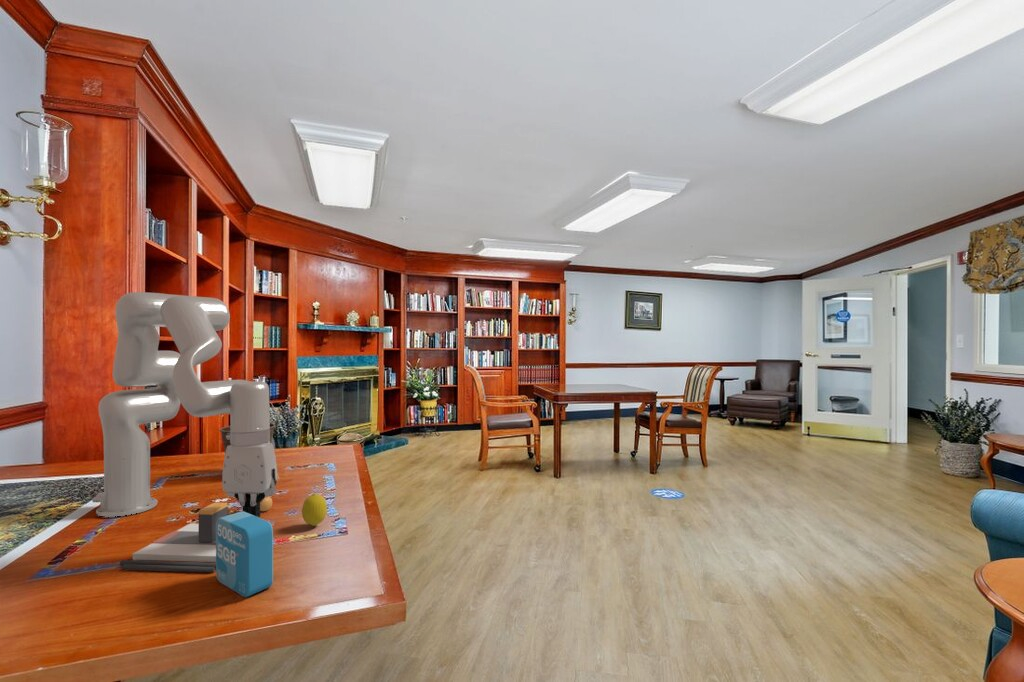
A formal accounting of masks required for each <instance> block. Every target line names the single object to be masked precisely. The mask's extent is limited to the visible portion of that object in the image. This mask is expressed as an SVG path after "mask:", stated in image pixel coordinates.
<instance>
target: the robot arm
mask: <svg viewBox="0 0 1024 682" xmlns="http://www.w3.org/2000/svg"><path fill="white" fill-rule="evenodd" d="M114 309H115V313H114V314H115V321H116V326H117V332H118V334H117V340H116V341H117V342H116V348H115V353H114V358H113V359H114V360H113V367H112V379H113V381H114V383H115V384H116V385H117V386H120V387H123V388H133V389H124V390H117V391H113V392H110V393H108V394H105V396H104V395H103V397H102V398H101V399H100V401H99V403H98V416H99V419H100V424H101V427H102V435H103V437H102V438H103V439H102V440H103V492H98V493H97V494H96V496H93V498H92V499H91V501H92V503H100V504H99V507H98V508H96V511H95V514H97V515H98V517H99V516H105V517H104V518H108V517H109V518H118V517H117V516H121V517H125V515H127V516H132V515H136V513H137V514H139V513H143V512H147V511H149V510H151V509H153V508H155V507H156V506H157V505H158V499H157V498H154V497H151V443H150V442H151V441H150V437H149V436H148V435H147V434H146V432H144V431H143V430H142V429H141V428H140V425H145V424H153V423H159V422H165V421H170V420H172V419H174V418H175V417H176V416H177V414H178V412H179V411H180V408H181V406H182V407H183V408H184V410H185V411H186V412H187V413H188V414H190V415H191V416H193V417H196V418H206V417H213V416H219V415H220V416H221V415H229V414H230V425H229V426H230V427H231V431H230V433H227V435H226V439H230V443H231V445H229V446H227V449H226V453H225V452H224V458H223V463H222V478H221V482H222V483H221V485H222V486H221V487H222V490H223V492H224V493H225V495H226V496H229V497H232V498H235V499H236V500H237V501H238V503H239V506H241V507H242V511H244V512H246V513H249V514H251V515H254V516H256V517H259V518H261V511H260V502H262V501H263V499H264V498H265V497H272V496H274V495H276V494H277V489H276V486H277V484H278V478H277V475H278V468H277V467H278V465H277V457H276V453H275V452H276V451H275V447H274V444H273V442H271V443H270V423H271V422H270V420H271V419H270V411H271V410H270V387H269V384H267V382H265V381H250V380H247V379H229V380H212V381H203V382H202V381H201V379H200V378H199V377H198V375H197V373H196V371H195V368H194V367H197V366H198V365H201V364H203V363H205V362H207V361H209V360H210V359H212V358H214V357H216V355H217V354H219V353H220V351H221V349H222V347H223V343H222V340H221V338H220V336H219V335H218V333H217V332H218V331H222V330H224V329H226V328H227V326H228V325H229V324H230V320H231V319H230V318H231V314H230V310H229V308H228V306H227V305H226V303H225V302H224V301H222V300H220V299H218V298H216V297H209V296H208V297H205V296H195V295H193V296H192V295H184V294H183V295H182V294H170V293H169V294H168V293H163V292H162V293H160V292H147V291H145V292H144V291H140V292H138V291H137V292H135V291H134V292H128V293H125V294H123V295H122V296H120V298H119V299H118V300H117V302H116V305H115V308H114ZM156 327H161V328H162V327H163V328H166V329H167V331H168V332H169V334H170V336H171V338H172V340H173V342H174V344H175V346H176V348H177V349H178V351H179V352H177V351H174V350H159V345H160V335H159V332H158V330H157V329H156ZM153 386H155V387H153ZM140 387H141V388H140ZM143 387H150V388H143ZM134 388H135V389H134ZM266 490H267V491H266ZM131 514H132V515H131ZM97 515H96V516H97ZM115 516H116V517H115Z"/></svg>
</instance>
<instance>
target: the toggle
mask: <svg viewBox="0 0 1024 682" xmlns="http://www.w3.org/2000/svg"><path fill="white" fill-rule="evenodd" d="M224 516H228V502H213V503H211V504H209V505H207V506H205V507H202V508H200V509H198V524H199V542H214V541H215V540H216V522H217V520H218V519H219V518H221V517H224Z"/></svg>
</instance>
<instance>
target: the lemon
mask: <svg viewBox="0 0 1024 682" xmlns="http://www.w3.org/2000/svg"><path fill="white" fill-rule="evenodd" d="M301 507H302V508H301V515H302V519H303V521H304V522H305V523H306V524H308V525H310V526H312V527H313V526H315V527H317V526H318V525H319V524H321V523H322V522H323V521H324V519H325V518H326V516H327V511H328V505H327V501H326V499H325V497H323V496H322V495H320V494H317V493H316V492H314V493H312V494H311V495H309V496H307V498H305V500H304V502H303V504H302V506H301Z"/></svg>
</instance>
